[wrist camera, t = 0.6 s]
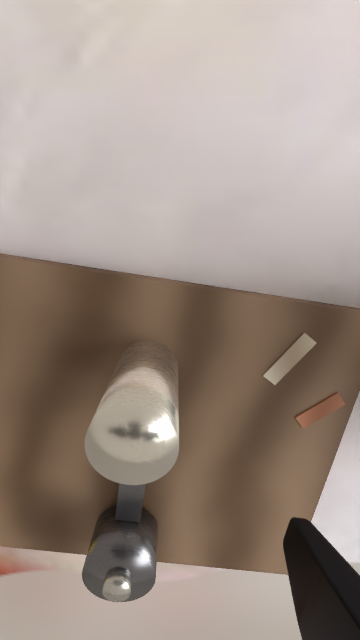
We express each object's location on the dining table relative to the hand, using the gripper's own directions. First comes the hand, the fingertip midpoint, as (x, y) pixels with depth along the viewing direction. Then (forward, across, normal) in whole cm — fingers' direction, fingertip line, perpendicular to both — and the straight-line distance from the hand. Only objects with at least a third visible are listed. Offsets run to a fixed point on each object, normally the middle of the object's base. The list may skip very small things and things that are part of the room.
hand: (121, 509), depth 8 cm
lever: (+10, 0, +7) cm, 12 cm away
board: (+11, -1, +6) cm, 13 cm away
